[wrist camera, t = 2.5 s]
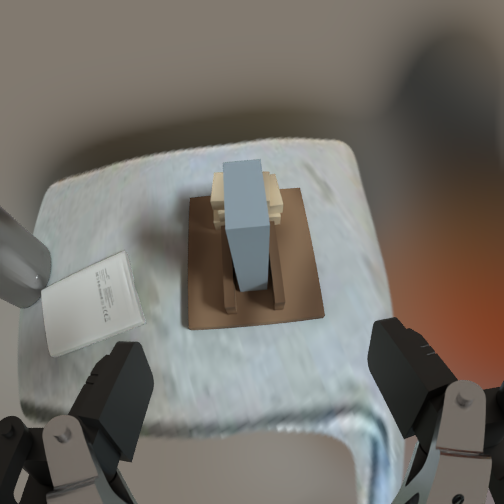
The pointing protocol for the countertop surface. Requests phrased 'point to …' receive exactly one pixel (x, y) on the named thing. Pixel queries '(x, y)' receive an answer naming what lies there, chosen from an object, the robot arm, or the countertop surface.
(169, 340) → the countertop surface
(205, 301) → the walnut stand
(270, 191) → the birch offcut stack
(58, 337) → the external hard drive
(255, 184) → the slate-blue block
